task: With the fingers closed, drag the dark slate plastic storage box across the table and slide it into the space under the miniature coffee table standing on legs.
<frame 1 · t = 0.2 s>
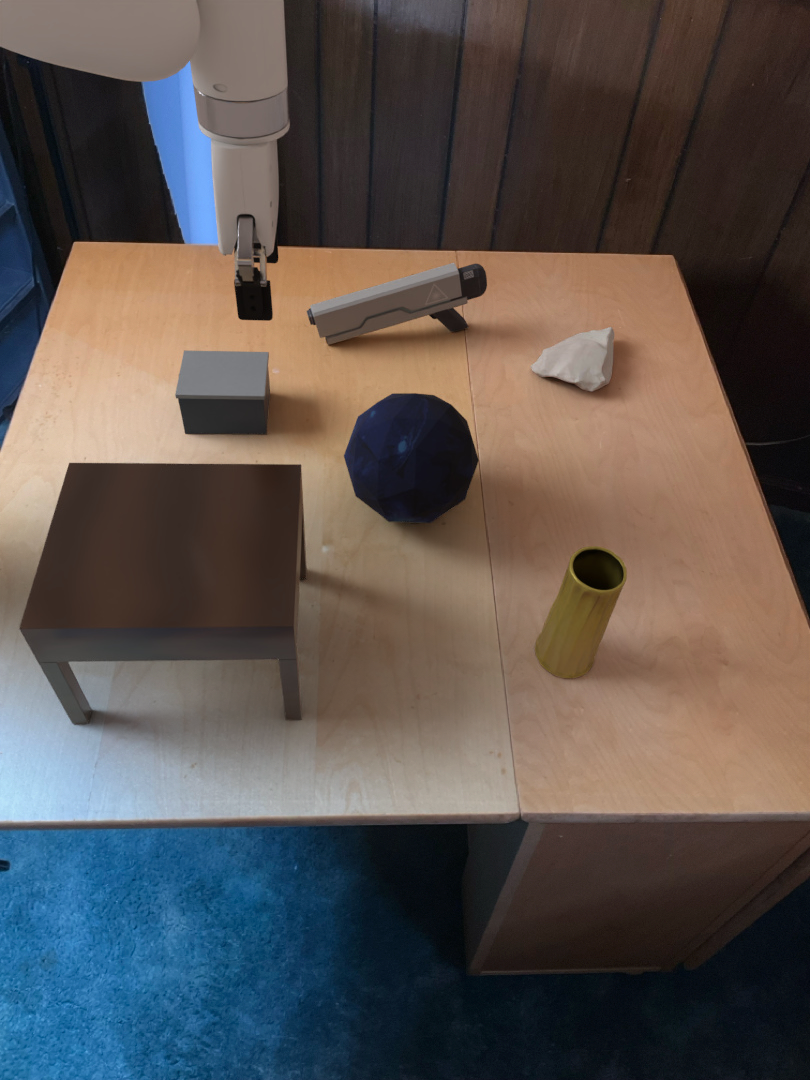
hand: (259, 288, 79), 24 cm above the table, tool pointing down, fingers open, 9 cm apart
vase: (563, 654, 83), on the table
storage box: (229, 412, 102), on the table
gun: (395, 335, 115), on the table
stone: (582, 365, 113), on the table
decorative orb: (407, 501, 95), on the table
miniature coffee table: (198, 640, 81), on the table
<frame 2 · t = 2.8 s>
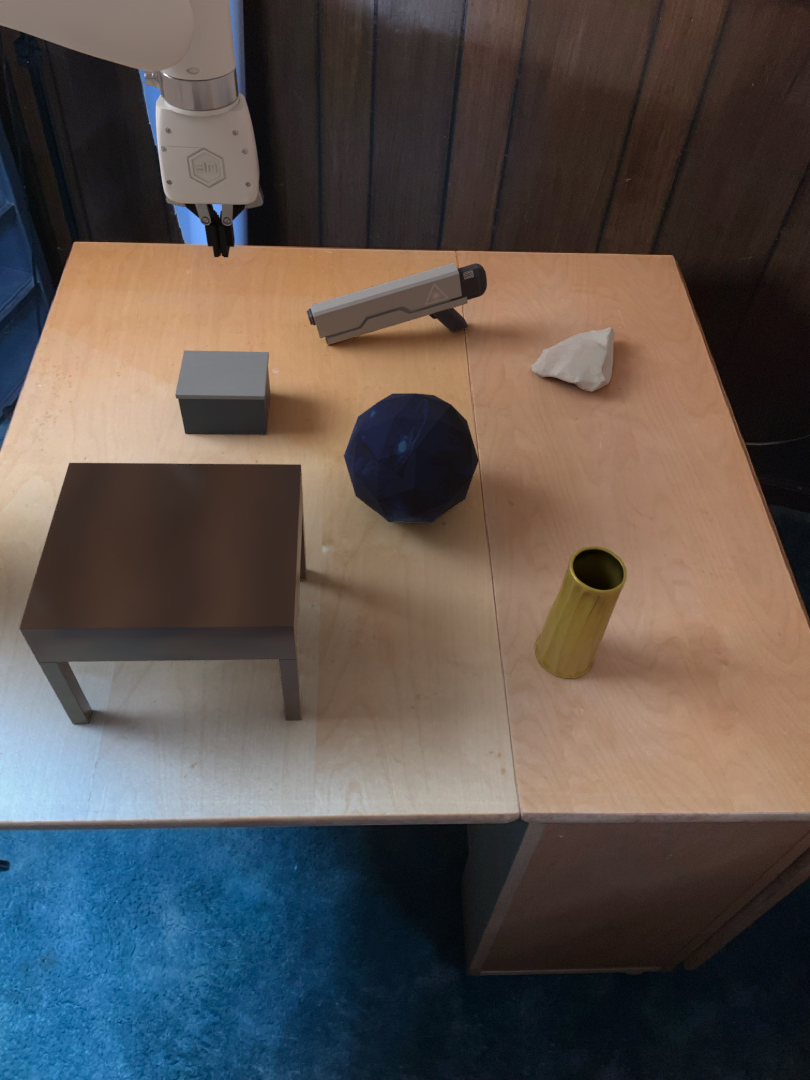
hand: (222, 250, 95), 17 cm above the table, tool pointing down, fingers closed
nothing on the table moved.
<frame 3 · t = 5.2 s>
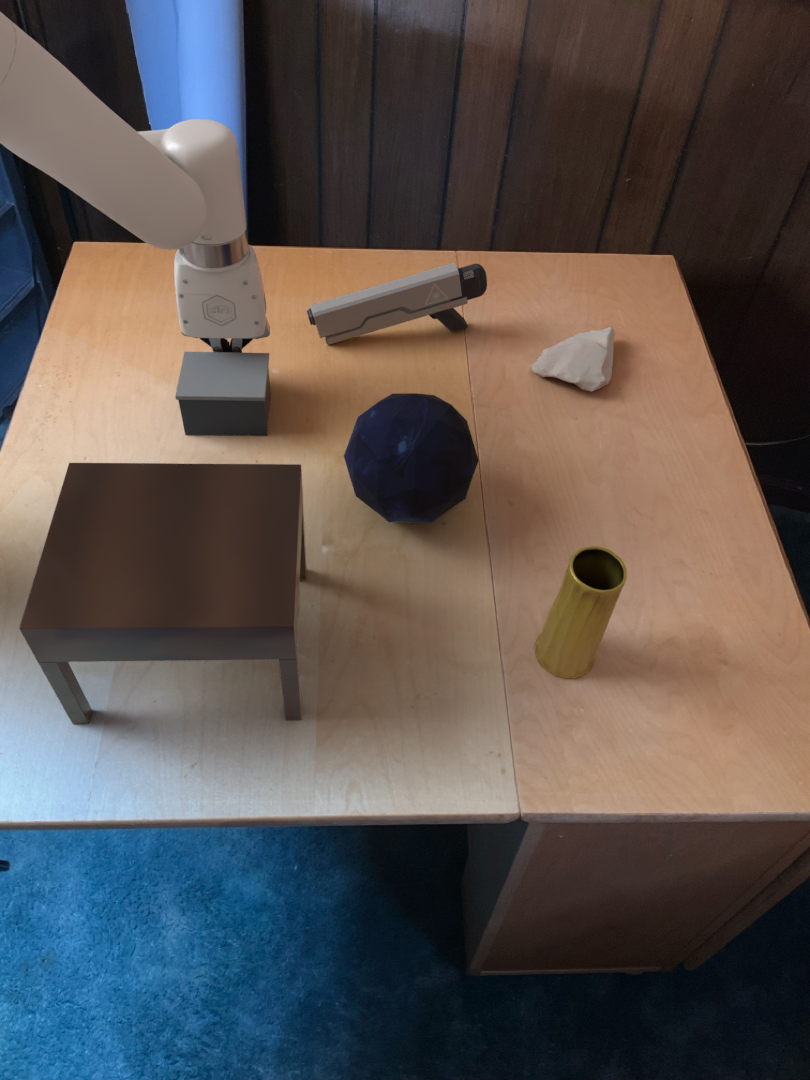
hand: (232, 371, 104), 2 cm above the table, tool pointing down, fingers closed
storage box: (229, 413, 102), on the table, touching gripper
everything else where it was.
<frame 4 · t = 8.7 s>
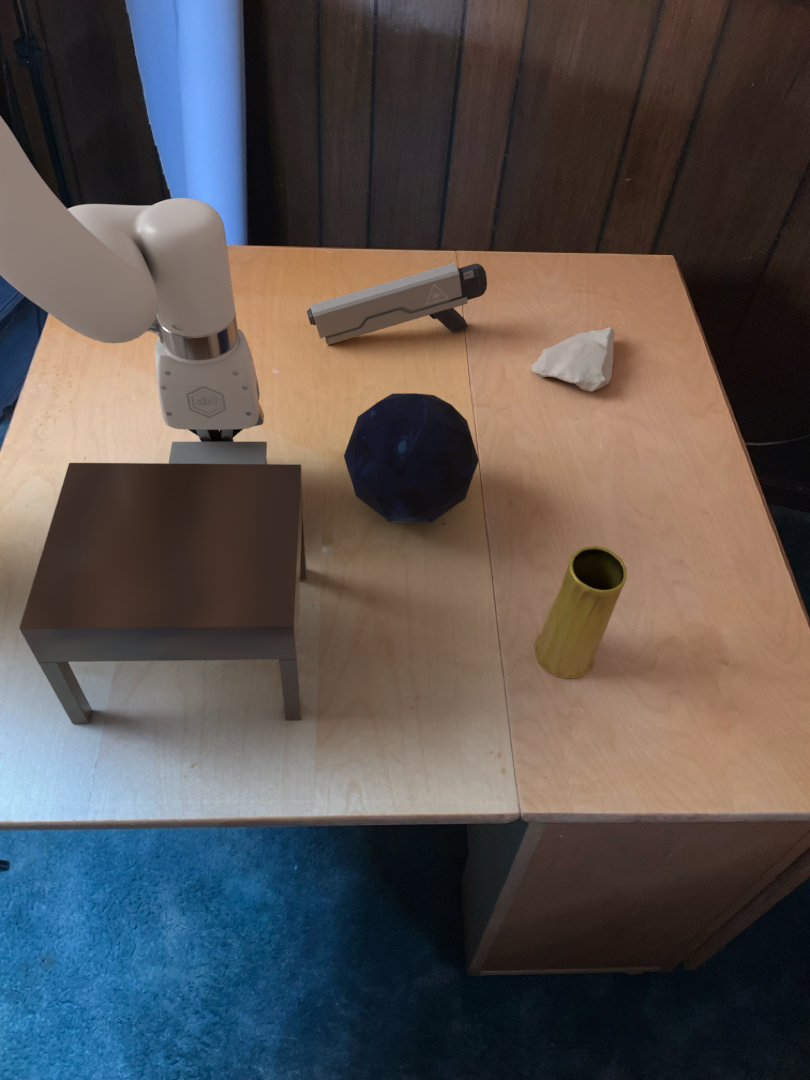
hand: (222, 459, 94), 2 cm above the table, tool pointing down, fingers closed
storage box: (223, 507, 92), on the table, touching gripper
everything else where it was.
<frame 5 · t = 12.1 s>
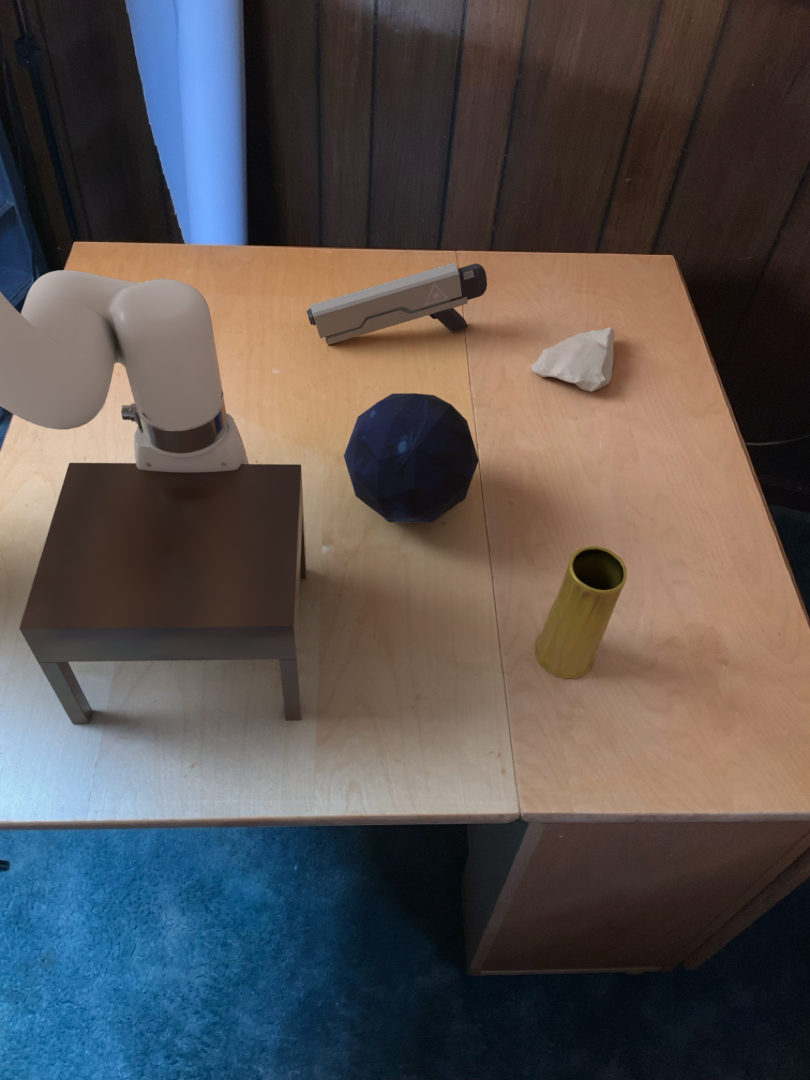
hand: (210, 545, 86), 2 cm above the table, tool pointing down, fingers closed
storage box: (215, 599, 84), on the table, touching gripper
everything else where it was.
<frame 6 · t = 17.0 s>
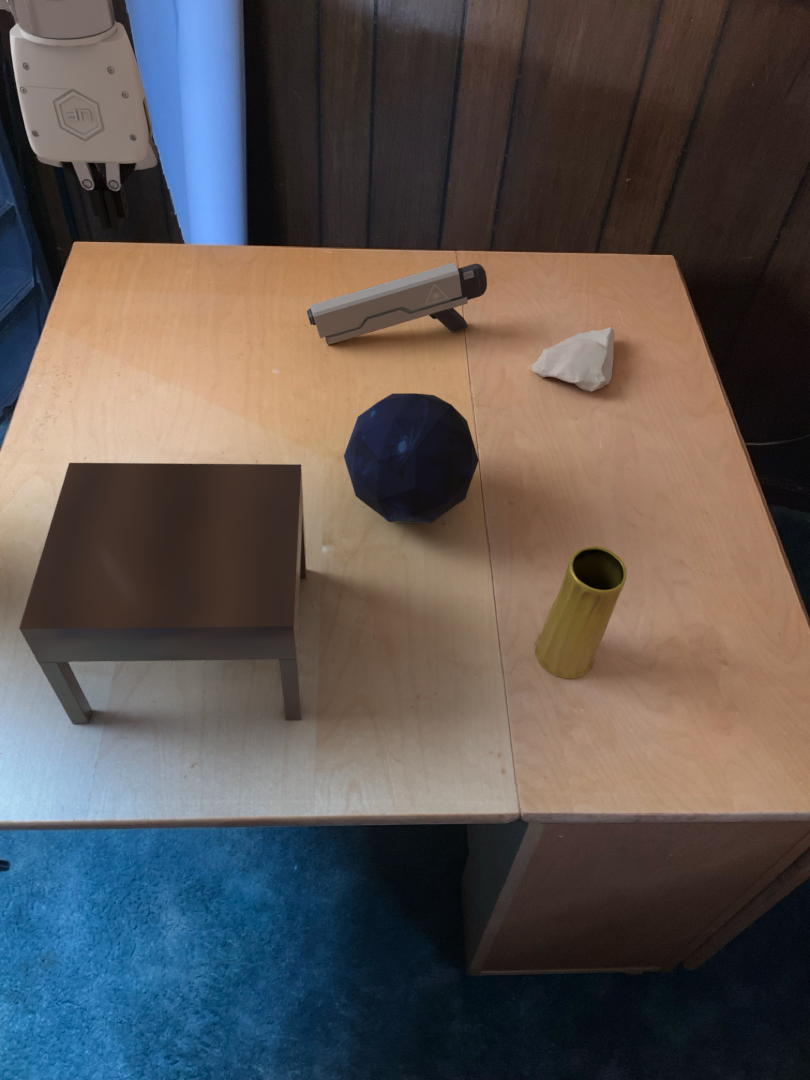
hand: (113, 222, 79), 27 cm above the table, tool pointing down, fingers closed
storage box: (215, 600, 84), on the table
everything else where it was.
at the end: storage box inside the target area on the miniature coffee table (5.8 cm from its centre), point 0.0 cm above the miniature coffee table's base; storage box tilted 0° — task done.
